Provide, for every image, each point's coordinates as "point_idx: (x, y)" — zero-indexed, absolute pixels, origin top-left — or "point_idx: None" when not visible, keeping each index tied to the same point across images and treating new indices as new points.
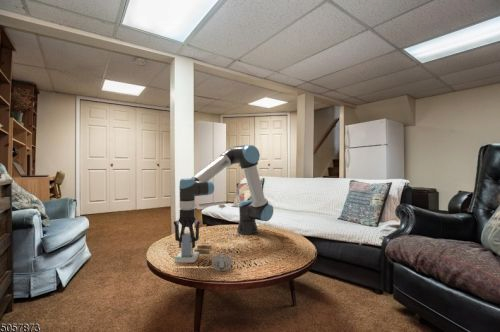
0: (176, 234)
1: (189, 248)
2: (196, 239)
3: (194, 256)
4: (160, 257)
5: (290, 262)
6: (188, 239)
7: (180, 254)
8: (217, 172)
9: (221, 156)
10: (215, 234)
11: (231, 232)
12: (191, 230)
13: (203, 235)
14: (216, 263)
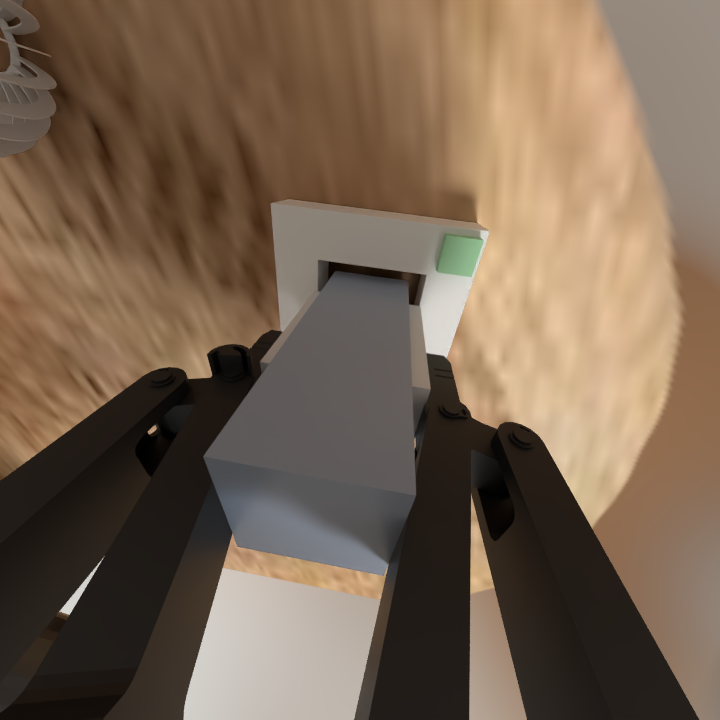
0: (572, 552)
1: (315, 309)
2: (156, 379)
3: (292, 281)
4: (583, 383)
5: None
6: (286, 386)
7: (428, 346)
8: None
9: None
10: (291, 561)
11: (232, 561)
12: (95, 611)
13: None
14: (35, 101)
